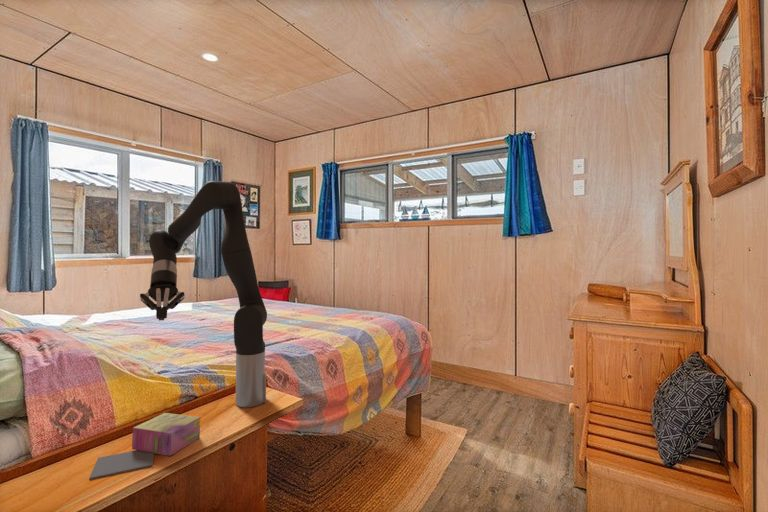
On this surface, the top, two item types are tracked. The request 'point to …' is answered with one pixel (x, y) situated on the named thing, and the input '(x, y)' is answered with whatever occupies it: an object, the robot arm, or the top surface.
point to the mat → (121, 463)
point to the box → (166, 433)
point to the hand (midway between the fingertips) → (161, 318)
